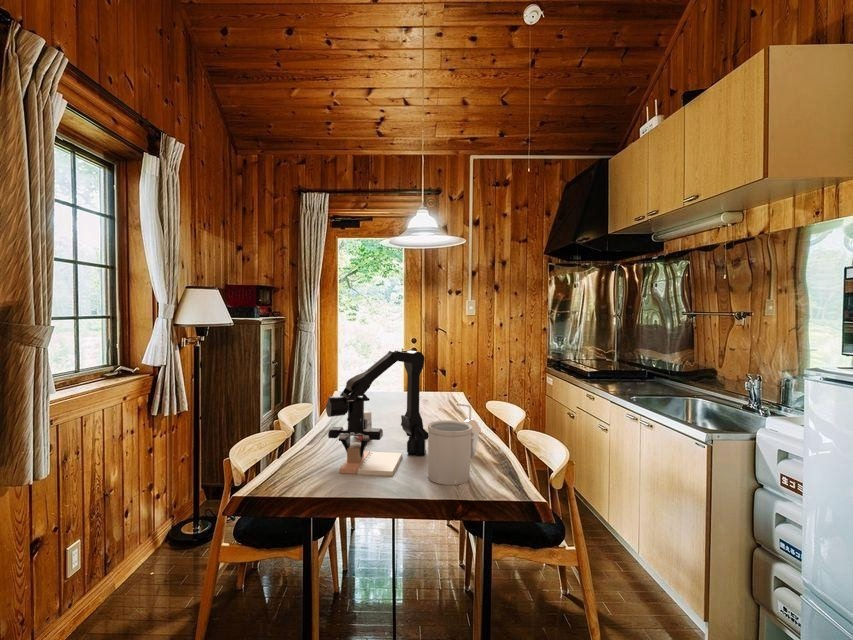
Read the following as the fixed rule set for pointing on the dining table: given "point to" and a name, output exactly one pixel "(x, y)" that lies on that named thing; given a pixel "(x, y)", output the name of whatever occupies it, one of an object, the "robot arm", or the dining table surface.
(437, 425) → the utensil holder
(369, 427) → the ink box
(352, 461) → the stub
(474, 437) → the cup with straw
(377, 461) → the board
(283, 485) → the dining table surface
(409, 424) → the robot arm
